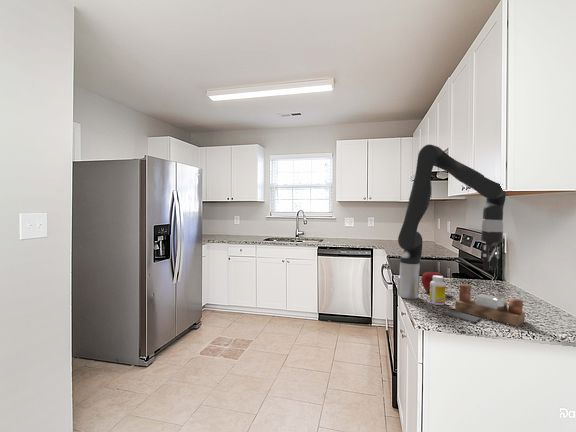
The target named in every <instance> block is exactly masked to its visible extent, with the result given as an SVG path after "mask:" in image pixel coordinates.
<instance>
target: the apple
mask: <svg viewBox="0 0 576 432" xmlns="http://www.w3.org/2000/svg"><path fill="white" fill-rule="evenodd" d="M434 275H437V276H442V277H444V275H443V274H442V273H440V272H437V271H436V272H435V271H426V272H424V273H423V274H422V275H421V277H420V279H421V284H422V287H423V289H424V290H425V291H426V292H427V293H428V294H430V282H431V281H433V278H432V277H433V276H434ZM444 281H445V279H443V282H444ZM444 283H445V282H444Z"/></svg>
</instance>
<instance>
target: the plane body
mask: <svg viewBox="0 0 576 432" xmlns="http://www.w3.org/2000/svg"><path fill="white" fill-rule="evenodd" d="M471 289H472V285H471V284H468V283H461V284H459V296H458V297H459V299H458V300H455V301H454V302H455V304H454V305H455V308H454V311H457V312H461V313H464V314H467V313H468V315H471V314H472V316H476V317H479V318H484V319H486V318H488V319H487V320H490V319H492V320H491V321H494V320H496V321H495V322H498V321H500V322H499V323H501V322H504V323H503V324H505V323H508V324H507V325H509V324H512V325H511V326H513V325H516V326H515V327H517V326H518V325H519V324H520V325H522V324H524V323H525V322H526V321H525V319H526V311H523V306H524V305H523V304H524V300H522V299H519V298H509V300H508V307H507V311H499V310H495V309H491V308H486V307H482V306H478V305H476V299H471V292H472V290H471ZM524 321H525V322H524ZM521 323H522V324H521ZM520 325H519V326H520ZM519 326H518V327H519Z"/></svg>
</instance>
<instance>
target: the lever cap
mask: <svg viewBox="0 0 576 432" xmlns="http://www.w3.org/2000/svg"><path fill="white" fill-rule="evenodd" d="M475 300H476V305H478V306H482V307H486V308H491V309H495V310H499V311H507V308H508V306H509V300H508V299H506V298H503V297H499V296H494V295H489V294H485V293H480V294H477V295H476V296H475Z"/></svg>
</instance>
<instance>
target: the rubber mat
mask: <svg viewBox="0 0 576 432" xmlns="http://www.w3.org/2000/svg"><path fill="white" fill-rule="evenodd" d="M443 315H444V316H447V317H450V316H451V318H454V317H455V318H454V319H457V318H459V319H458V320H461V319H463V320H462V321H465V320H467V321H466V322H468V321H471V322H470V323H472V322H475V323H477V322H479V321H481V320H482V317H479V316H475V315H471V314H467V313H464V312H460V311H456V310H453V309H450V310H447V311H445V312H443ZM480 319H481V320H480ZM478 320H479V321H478ZM476 321H477V322H476Z"/></svg>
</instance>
